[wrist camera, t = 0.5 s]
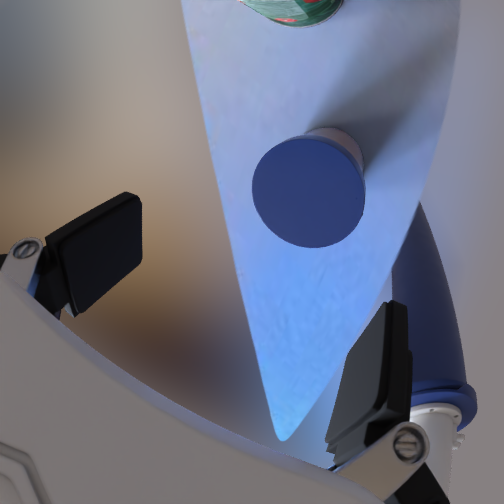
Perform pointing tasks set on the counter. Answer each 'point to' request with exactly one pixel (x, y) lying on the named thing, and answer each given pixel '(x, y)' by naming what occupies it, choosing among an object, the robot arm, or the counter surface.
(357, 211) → the jar lid
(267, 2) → the canned tomato
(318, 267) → the counter surface
